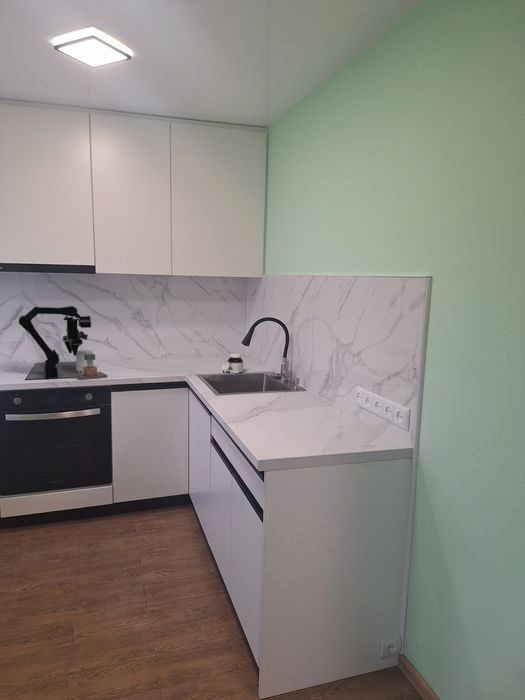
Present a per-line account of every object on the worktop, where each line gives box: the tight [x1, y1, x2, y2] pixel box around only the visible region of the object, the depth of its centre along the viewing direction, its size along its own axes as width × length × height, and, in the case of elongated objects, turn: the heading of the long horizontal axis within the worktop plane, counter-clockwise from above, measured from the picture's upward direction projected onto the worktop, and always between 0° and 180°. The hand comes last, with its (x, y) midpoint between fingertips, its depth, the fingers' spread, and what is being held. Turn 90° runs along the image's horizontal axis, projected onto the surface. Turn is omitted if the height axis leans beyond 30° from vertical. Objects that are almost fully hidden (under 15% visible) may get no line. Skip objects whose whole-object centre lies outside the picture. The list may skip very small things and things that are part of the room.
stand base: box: [72, 365, 108, 381], centre depth 280 cm, size 16×12×6 cm
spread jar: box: [221, 353, 244, 372], centre depth 308 cm, size 12×11×12 cm
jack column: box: [84, 353, 96, 368], centre depth 280 cm, size 5×4×8 cm
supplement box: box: [75, 349, 94, 373], centre depth 298 cm, size 7×7×13 cm
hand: (72, 354), depth 281 cm, fingers open, 9 cm apart
